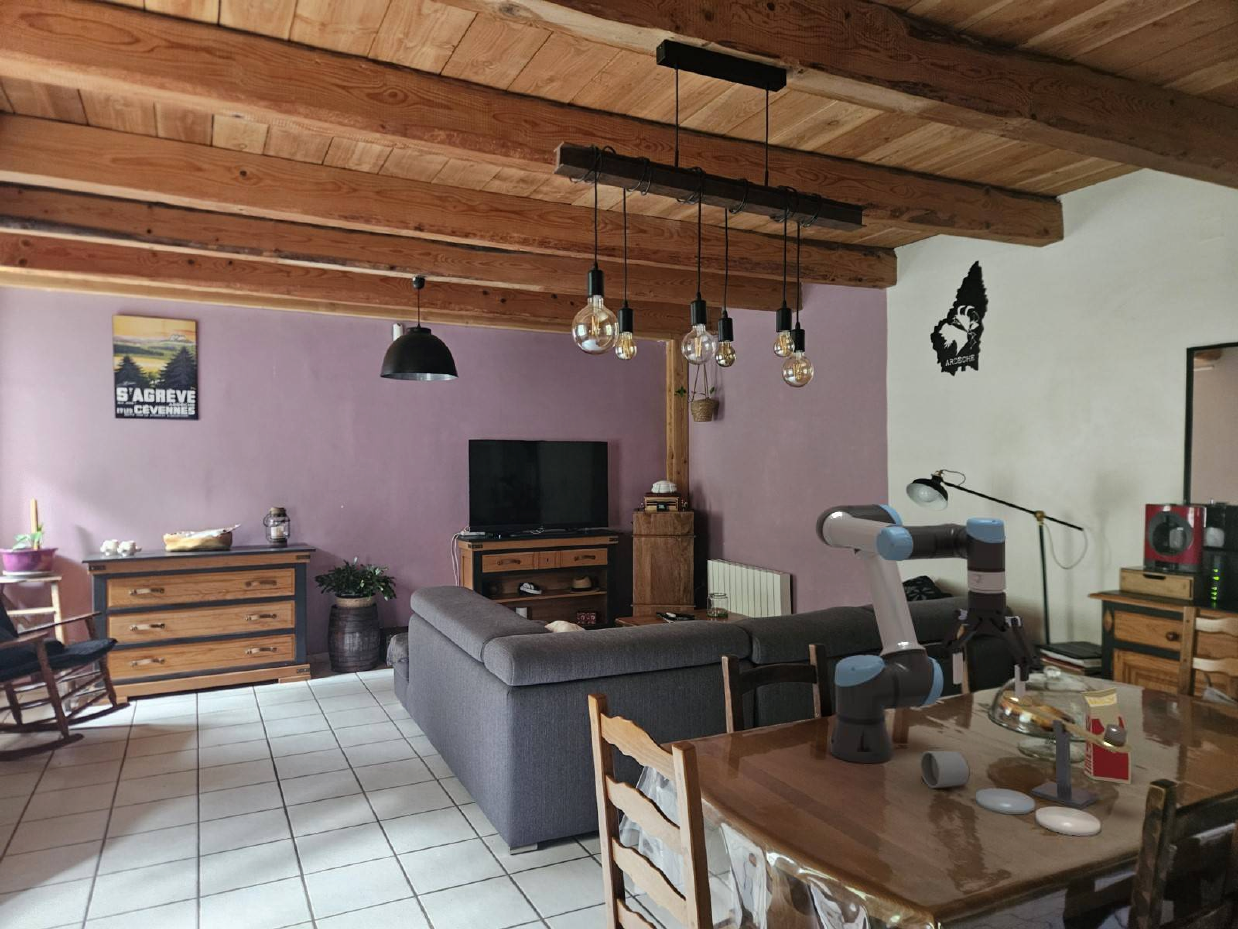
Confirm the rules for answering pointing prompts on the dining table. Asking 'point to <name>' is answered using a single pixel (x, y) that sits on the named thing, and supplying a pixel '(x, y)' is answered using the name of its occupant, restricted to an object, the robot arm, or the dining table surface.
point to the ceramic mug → (944, 769)
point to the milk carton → (1097, 718)
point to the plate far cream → (1068, 821)
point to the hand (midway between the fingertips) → (988, 689)
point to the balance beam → (1109, 740)
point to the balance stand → (1064, 774)
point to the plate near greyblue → (1005, 801)
